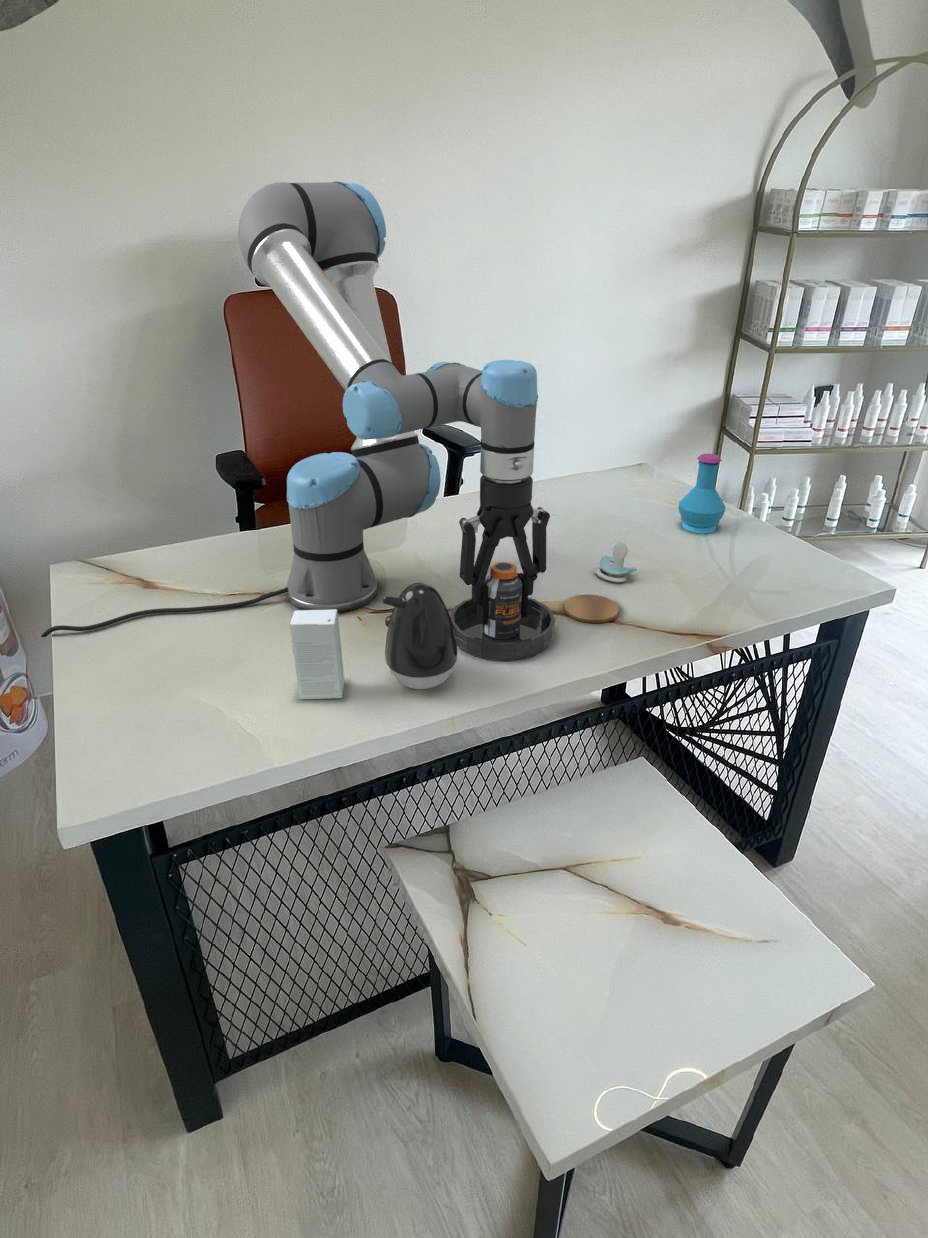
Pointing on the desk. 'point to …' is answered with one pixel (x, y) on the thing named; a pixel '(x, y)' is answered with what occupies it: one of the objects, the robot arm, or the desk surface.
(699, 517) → the perfume bottle
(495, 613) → the pill bottle
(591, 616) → the coaster
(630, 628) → the desk surface
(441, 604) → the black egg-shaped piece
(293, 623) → the cosmetic box
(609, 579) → the pacifier
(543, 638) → the pan
